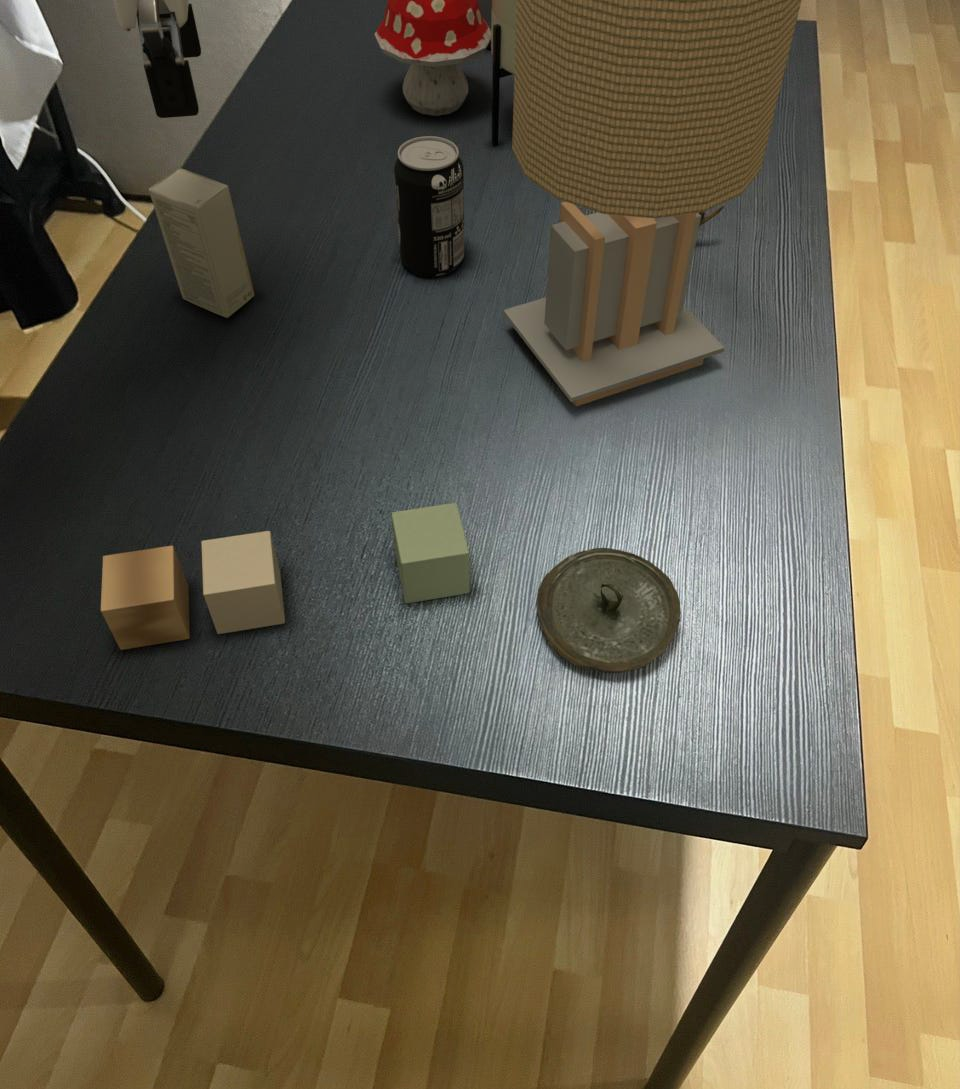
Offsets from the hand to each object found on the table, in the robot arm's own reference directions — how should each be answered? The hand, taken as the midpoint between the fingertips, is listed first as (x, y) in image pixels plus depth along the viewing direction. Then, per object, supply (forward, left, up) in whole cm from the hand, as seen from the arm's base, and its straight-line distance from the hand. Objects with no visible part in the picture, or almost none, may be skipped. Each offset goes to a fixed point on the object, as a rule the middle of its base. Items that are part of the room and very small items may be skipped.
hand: (180, 84), depth 80 cm
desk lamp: (+34, -13, -23) cm, 43 cm away
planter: (+39, +27, -23) cm, 53 cm away
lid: (+25, -43, -23) cm, 55 cm away
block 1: (-8, -36, -22) cm, 43 cm away
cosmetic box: (-2, +2, -23) cm, 23 cm away
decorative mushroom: (+26, +36, -23) cm, 50 cm away
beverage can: (+20, +4, -23) cm, 31 cm away
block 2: (-1, -36, -22) cm, 42 cm away
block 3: (+13, -36, -22) cm, 44 cm away
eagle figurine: (+46, +5, -23) cm, 52 cm away
